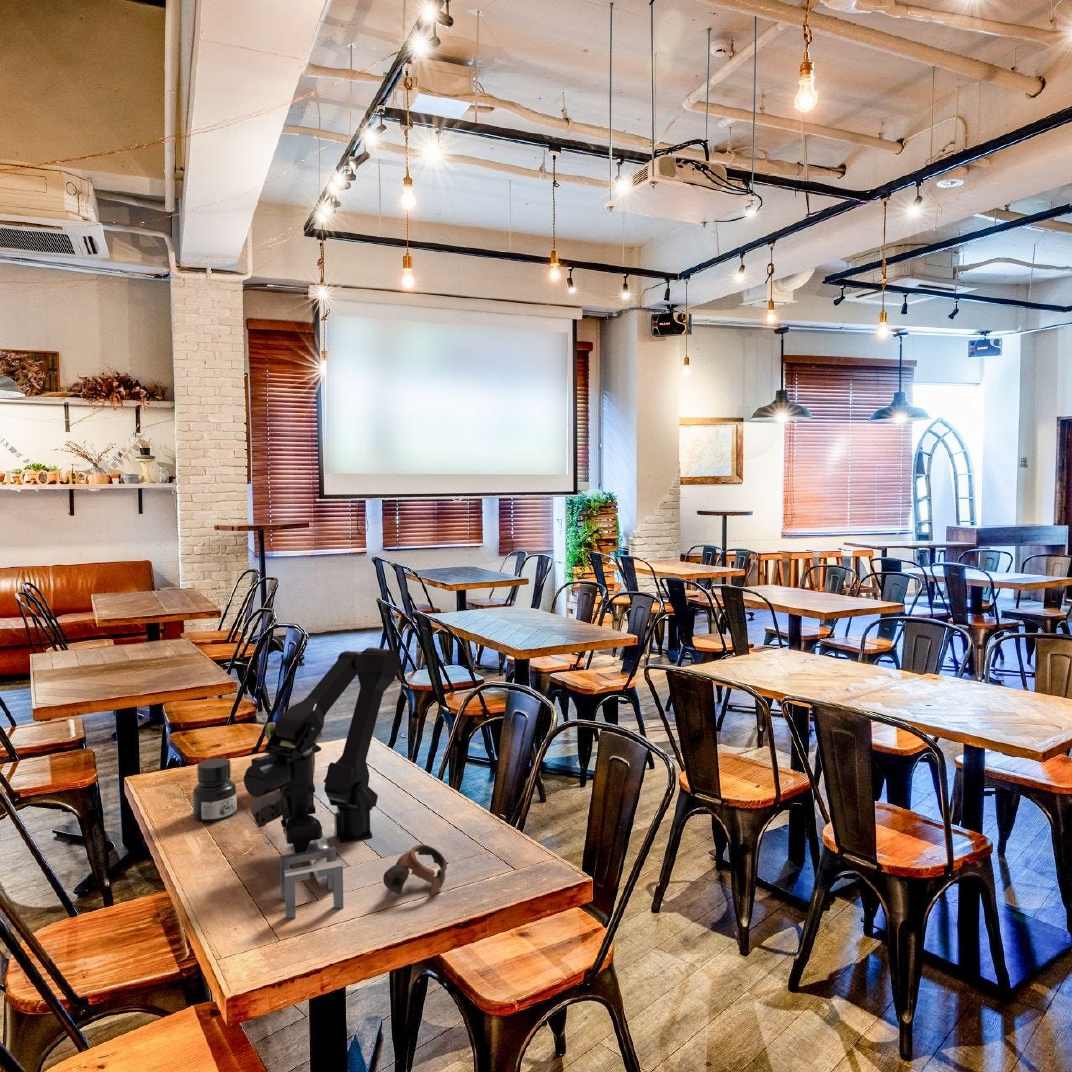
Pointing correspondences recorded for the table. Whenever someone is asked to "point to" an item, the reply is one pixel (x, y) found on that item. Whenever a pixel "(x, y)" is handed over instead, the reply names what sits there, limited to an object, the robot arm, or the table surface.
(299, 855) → the arch block
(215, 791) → the ink bottle
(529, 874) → the table surface
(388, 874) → the brown headphones
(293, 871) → the arch block
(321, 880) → the air tube
